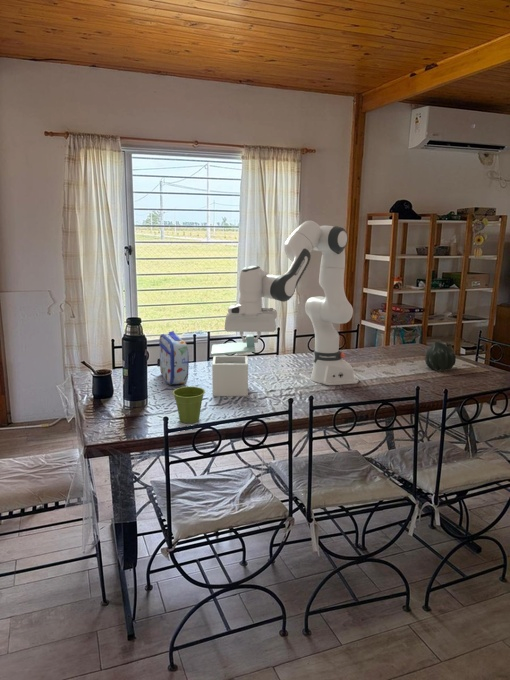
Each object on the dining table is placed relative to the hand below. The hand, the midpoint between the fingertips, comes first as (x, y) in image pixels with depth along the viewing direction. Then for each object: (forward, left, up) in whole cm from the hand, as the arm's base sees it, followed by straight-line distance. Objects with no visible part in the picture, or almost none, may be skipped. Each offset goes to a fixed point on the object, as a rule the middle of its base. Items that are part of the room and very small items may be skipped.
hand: (250, 342), depth 200 cm
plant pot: (+23, +17, -26) cm, 39 cm away
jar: (+8, -17, -26) cm, 32 cm away
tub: (+8, -17, -26) cm, 32 cm away
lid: (+8, 0, -3) cm, 8 cm away
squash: (-99, -50, -26) cm, 114 cm away
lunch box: (+35, -34, -26) cm, 55 cm away
